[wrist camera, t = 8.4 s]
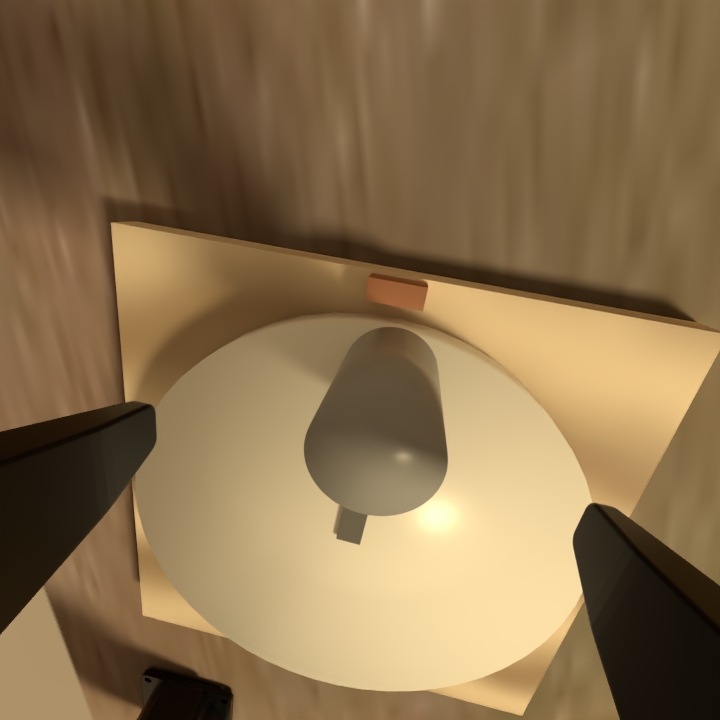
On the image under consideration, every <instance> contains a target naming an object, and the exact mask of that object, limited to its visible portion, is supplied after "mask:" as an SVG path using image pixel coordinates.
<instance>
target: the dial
mask: <svg viewBox="0 0 720 720" xmlns="http://www.w3.org/2000/svg"><path fill="white" fill-rule="evenodd" d="M155 411H156V429H157V440H156V444H155V446H154V448H153V450H152V451H151V453H150V454H149V456H148V457H147V458H146V460H145V461H144V463H143V464H142V465H141V467H140V468H139V470H138V471H137V472H136V477H135V490H136V499H137V508H138V512H139V516H140V520H141V524H142V528H143V531H144V534H145V536H146V538H147V541H148V543H149V546H150V548H151V551H152V553H153V554H154V556H155V558H156V560H157V562H158V564H159V565H160V567H161V569H162V571H163V572H164V574H165V575H166V576H167V578H168V579H169V581H170V582H171V583H172V585H173V586H174V588H175V589H176V590H177V591H178V592H179V594H180V595H181V596H182V597H183V598H184V599H185V600H186V602H187V603H188V604H189V605H190V606H191V607H192V608H193V609H194V610H195V611H196V612H197V613H198V614H199V615H200V616H201V617H203V618H204V619H205V620H206V621H207V622H208V623H209V624H210V625H212V626H213V627H214V628H216V629H217V630H218V631H219V632H221V633H222V634H223V635H225V636H226V637H227V638H229V639H230V640H232V641H233V642H235V643H236V644H238V645H240V646H241V647H243V648H244V649H246V650H247V651H249V652H251V653H253V654H255V655H257V656H259V657H261V658H262V659H264V660H266V661H268V662H270V663H273V664H275V665H277V666H280V667H282V668H284V669H287V670H289V671H291V672H294V673H297V674H300V675H303V676H306V677H309V678H312V679H315V680H319V681H323V682H327V683H331V684H335V685H340V686H346V687H352V688H358V689H366V690H378V691H418V690H429V689H437V688H443V687H448V686H453V685H459V684H462V683H466V682H469V681H472V680H476V679H479V678H483V677H485V676H487V675H490V674H492V673H495V672H497V671H499V670H502V669H504V668H506V667H508V666H510V665H511V664H513V663H515V662H517V661H518V660H520V659H522V658H524V657H525V656H527V655H528V654H530V653H531V652H532V651H534V650H535V649H536V648H538V647H539V646H540V645H541V644H543V643H544V642H545V641H546V640H547V639H548V638H549V637H550V636H551V635H552V634H553V633H554V632H555V631H556V630H557V629H558V628H559V627H560V626H561V625H562V624H563V623H564V621H565V620H566V618H567V617H568V616H569V614H570V613H571V611H572V610H573V609H574V607H575V606H576V604H577V602H578V600H579V598H580V596H581V594H582V592H583V591H582V587H581V582H580V577H579V573H578V568H577V563H576V559H575V554H574V550H573V534H574V531H575V529H576V527H577V525H578V523H579V521H580V519H581V517H582V515H583V513H584V511H585V509H586V507H587V506H588V505H589V504H590V503H592V499H591V496H590V492H589V488H588V484H587V481H586V478H585V476H584V474H583V472H582V469H581V467H580V465H579V463H578V461H577V459H576V457H575V454H574V452H573V451H572V449H571V447H570V446H569V444H568V443H567V441H566V440H565V438H564V436H563V435H562V433H561V432H560V430H559V429H558V427H557V426H556V424H555V423H554V421H553V420H552V418H551V417H550V415H549V414H548V412H547V411H546V409H545V408H544V406H543V405H542V404H541V403H540V402H539V401H538V399H537V398H536V397H535V396H534V395H533V394H532V393H531V392H530V391H529V390H528V389H527V387H526V386H525V385H524V384H523V383H522V382H521V381H520V380H519V379H517V378H516V377H515V376H514V375H512V374H511V373H510V372H509V371H508V370H506V369H505V368H504V367H503V366H501V365H500V364H499V363H498V362H497V361H495V360H494V359H492V358H490V357H489V356H487V355H485V354H484V353H482V352H481V351H479V350H477V349H476V348H474V347H472V346H471V345H469V344H467V343H465V342H463V341H461V340H459V339H456V338H454V337H452V336H450V335H448V334H445V333H443V332H441V331H439V330H436V329H433V328H430V327H427V326H423V325H420V324H417V323H413V322H410V321H407V320H403V319H398V318H392V317H386V316H380V315H374V314H366V313H339V312H334V313H323V314H313V315H303V316H298V317H294V318H290V319H286V320H281V321H277V322H273V323H270V324H268V325H265V326H263V327H260V328H258V329H255V330H252V331H250V332H247V333H245V334H243V335H242V336H240V337H238V338H236V339H235V340H233V341H231V342H229V343H228V344H226V345H224V346H222V347H221V348H219V349H218V350H216V351H215V352H213V353H212V354H210V355H209V356H208V357H206V358H205V359H203V360H202V361H200V362H199V363H198V364H197V365H196V366H194V367H193V368H192V369H191V370H189V371H188V372H187V373H186V374H184V375H183V376H182V377H181V378H180V379H179V380H178V381H177V382H176V383H175V384H174V385H173V387H172V388H171V389H170V390H169V391H168V392H167V393H166V394H165V396H164V397H163V398H162V400H161V401H160V403H159V405H158V406H157V408H156V409H155Z"/></svg>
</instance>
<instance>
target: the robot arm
mask: <svg viewBox="0 0 720 720" xmlns="http://www.w3.org/2000/svg"><path fill="white" fill-rule="evenodd" d="M156 440H157V429H156V411H155V408H154V406H152V405H151V404H147V403H143V402H138V401H130V402H125V403H121V404H117V405H113V406H108V407H104V408H100V409H96V410H91V411H87V412H83V413H79V414H74V415H70V416H66V417H61V418H57V419H53V420H49V421H44V422H40V423H36V424H32V425H27V426H23V427H19V428H14V429H10V430H6V431H2V432H0V634H1V633H2V632H3V631H4V630H5V629H6V628H7V626H8V625H9V624H10V623H11V622H12V621H13V620H14V618H15V617H16V616H17V615H18V614H19V613H20V612H21V610H22V609H23V608H24V607H25V606H26V605H27V604H28V602H29V601H30V600H31V599H32V598H33V597H34V596H35V594H36V593H37V592H38V591H39V590H40V589H41V588H42V586H43V585H44V584H45V583H46V582H47V581H48V580H49V578H50V577H51V576H52V575H53V574H54V573H55V572H56V570H57V569H58V568H59V567H60V566H61V565H62V564H63V562H64V561H65V560H66V559H67V558H68V557H69V555H70V554H71V553H72V552H73V551H74V550H75V549H76V547H77V546H78V545H79V544H80V543H81V542H82V541H83V539H84V538H85V537H86V536H87V535H88V534H89V533H90V531H91V530H92V529H93V528H94V527H95V526H96V525H97V523H98V522H99V521H100V520H101V519H102V518H103V516H104V515H105V514H106V513H107V512H108V510H109V509H110V508H111V507H112V505H113V504H114V503H115V501H116V500H117V499H118V497H119V496H120V495H121V493H122V492H123V490H124V489H125V488H126V486H127V485H128V483H129V482H130V481H131V479H132V478H133V476H134V475H135V474H136V472H137V471H138V470H139V468H140V467H141V465H142V464H143V463H144V461H145V460H146V458H147V457H148V456H149V454H150V453H151V451H152V450H153V448H154V446H155V444H156ZM573 550H574V554H575V559H576V563H577V568H578V573H579V577H580V582H581V587H582V591H583V596H584V600H585V605H586V610H587V614H588V618H589V622H590V626H591V630H592V633H593V637H594V640H595V643H596V646H597V649H598V653H599V656H600V659H601V662H602V665H603V668H604V671H605V674H606V678H607V681H608V684H609V687H610V690H611V693H612V696H613V699H614V702H615V706H616V709H617V712H618V715H619V718H620V720H720V586H719V585H718V584H717V583H715V582H714V581H713V580H711V579H710V578H709V577H707V576H706V575H705V574H703V573H702V572H701V571H699V570H698V569H697V568H695V567H694V566H693V565H691V564H690V563H689V562H687V561H686V560H685V559H683V558H682V557H681V556H679V555H678V554H677V553H675V552H674V551H673V550H671V549H670V548H669V547H667V546H666V545H665V544H663V543H662V542H661V541H659V540H658V539H657V538H655V537H654V536H653V535H651V534H650V533H649V532H647V531H646V530H645V529H643V528H642V527H641V526H639V525H638V524H637V523H635V522H634V521H633V520H631V519H630V518H629V517H627V516H626V515H625V514H623V513H622V512H621V511H619V510H618V509H617V508H615V507H612V506H608V505H604V504H599V503H590V504H589V505H588V506H587V507H586V509H585V511H584V513H583V515H582V517H581V519H580V521H579V523H578V525H577V527H576V529H575V531H574V534H573ZM141 682H142V693H143V704H144V708H143V709H142V711H141V713H140V715H139V717H138V718H137V720H232V714H233V694H232V693H231V692H230V691H227V690H224V689H220V688H217V687H213V686H210V685H206V684H202V683H199V682H195V681H191V680H188V679H184V678H181V677H177V676H173V675H170V674H166V673H162V672H159V671H155V670H152V669H147V670H145V672H144V673H143V675H142V677H141Z"/></svg>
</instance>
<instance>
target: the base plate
mask: <svg viewBox="0 0 720 720" xmlns="http://www.w3.org/2000/svg"><path fill="white" fill-rule="evenodd" d="M111 231H112V243H113V255H114V268H115V280H116V292H117V304H118V317H119V329H120V341H121V353H122V366H123V378H124V390H125V402H130V401H138V402H143V403H147V404H151V405H152V406H154V408H155V409H156V408H157V406H158V405H159V403H160V401H161V400H162V398H163V397H164V396H165V394H166V393H167V392H168V391H169V390H170V389H171V388H172V387H173V385H174V384H175V383H176V382H177V381H178V380H179V379H180V378H181V377H182V376H183V375H184V374H186V373H187V372H188V371H189V370H191V369H192V368H193V367H194V366H196V365H197V364H198V363H199V362H200V361H202V360H203V359H205V358H206V357H208V356H209V355H210V354H212V353H213V352H215V351H216V350H218V349H219V348H221V347H222V346H224V345H226V344H228V343H229V342H231V341H233V340H235V339H236V338H238V337H240V336H242V335H243V334H245V333H247V332H250V331H252V330H255V329H258V328H260V327H263V326H265V325H268V324H270V323H273V322H277V321H281V320H286V319H290V318H294V317H298V316H303V315H313V314H323V313H334V312H339V313H366V314H374V315H380V316H386V317H392V318H398V319H403V320H407V321H410V322H413V323H417V324H420V325H423V326H427V327H430V328H433V329H436V330H439V331H441V332H443V333H445V334H448V335H450V336H452V337H454V338H456V339H459V340H461V341H463V342H465V343H467V344H469V345H471V346H472V347H474V348H476V349H477V350H479V351H481V352H482V353H484V354H485V355H487V356H489V357H490V358H492V359H494V360H495V361H497V362H498V363H499V364H500V365H501V366H503V367H504V368H505V369H506V370H508V371H509V372H510V373H511V374H512V375H514V376H515V377H516V378H517V379H519V380H520V381H521V382H522V383H523V384H524V385H525V386H526V387H527V389H528V390H529V391H530V392H531V393H532V394H533V395H534V396H535V397H536V398H537V399H538V401H539V402H540V403H541V404H542V405H543V406H544V408H545V409H546V411H547V412H548V414H549V415H550V417H551V418H552V420H553V421H554V423H555V424H556V426H557V427H558V429H559V430H560V432H561V433H562V435H563V436H564V438H565V440H566V441H567V443H568V444H569V446H570V447H571V449H572V451H573V452H574V454H575V457H576V459H577V461H578V463H579V465H580V467H581V469H582V472H583V474H584V476H585V478H586V481H587V484H588V488H589V492H590V496H591V499H592V503H599V504H604V505H608V506H612V507H615V508H617V509H618V510H619V511H621V512H622V513H623V514H625V515H626V516H627V517H630V515H631V513H632V511H633V509H634V507H635V506H636V504H637V502H638V500H639V498H640V496H641V494H642V493H643V491H644V489H645V487H646V485H647V483H648V482H649V480H650V478H651V476H652V474H653V472H654V470H655V469H656V467H657V465H658V463H659V461H660V459H661V458H662V456H663V454H664V452H665V450H666V448H667V446H668V445H669V443H670V441H671V439H672V437H673V435H674V433H675V432H676V430H677V428H678V426H679V424H680V422H681V421H682V419H683V417H684V415H685V413H686V411H687V409H688V408H689V406H690V404H691V402H692V400H693V398H694V397H695V395H696V393H697V391H698V389H699V387H700V385H701V384H702V382H703V380H704V378H705V376H706V374H707V373H708V371H709V369H710V367H711V365H712V363H713V361H714V360H715V358H716V356H717V354H718V352H719V350H720V331H718V330H715V329H713V328H710V327H708V326H705V325H703V324H700V323H697V322H692V321H686V320H681V319H675V318H670V317H664V316H659V315H653V314H648V313H642V312H637V311H631V310H626V309H620V308H614V307H609V306H603V305H598V304H592V303H587V302H581V301H576V300H570V299H565V298H559V297H554V296H548V295H543V294H537V293H531V292H526V291H520V290H515V289H509V288H504V287H498V286H493V285H487V284H482V283H476V282H471V281H465V280H460V279H454V278H448V277H443V276H437V275H432V274H426V273H421V272H415V271H410V270H404V269H399V268H393V267H388V266H382V265H377V264H371V263H365V262H360V261H354V260H349V259H343V258H338V257H332V256H327V255H321V254H316V253H310V252H305V251H299V250H294V249H288V248H282V247H277V246H271V245H266V244H260V243H255V242H249V241H244V240H238V239H233V238H227V237H222V236H216V235H211V234H205V233H200V232H194V231H188V230H183V229H177V228H172V227H166V226H161V225H155V224H150V223H144V222H139V221H133V222H111ZM135 477H136V474H135V475H134V476H133V478H132V488H133V500H134V513H135V525H136V537H137V549H138V562H139V574H140V586H141V598H142V611H143V615H144V616H147V617H151V618H155V619H159V620H162V621H166V622H170V623H174V624H178V625H181V626H185V627H189V628H193V629H196V630H200V631H204V632H208V633H212V634H215V635H219V636H223V637H226V636H225V635H223V634H222V633H221V632H219V631H218V630H217V629H216V628H214V627H213V626H212V625H210V624H209V623H208V622H207V621H206V620H205V619H204V618H203V617H201V616H200V615H199V614H198V613H197V612H196V611H195V610H194V609H193V608H192V607H191V606H190V605H189V604H188V603H187V602H186V600H185V599H184V598H183V597H182V596H181V595H180V594H179V592H178V591H177V590H176V589H175V588H174V586H173V585H172V583H171V582H170V581H169V579H168V578H167V576H166V575H165V574H164V572H163V571H162V569H161V567H160V565H159V564H158V562H157V560H156V558H155V556H154V554H153V553H152V551H151V548H150V546H149V543H148V541H147V538H146V536H145V534H144V531H143V528H142V524H141V520H140V516H139V512H138V508H137V499H136V490H135ZM583 602H584V596H583V592H582V594H581V596H580V598H579V600H578V602H577V604H576V606H575V607H574V609H573V610H572V611H571V613H570V614H569V616H568V617H567V618H566V620H565V621H564V623H563V624H562V625H561V626H560V627H559V628H558V629H557V630H556V631H555V632H554V633H553V634H552V635H551V636H550V637H549V638H548V639H547V640H546V641H545V642H544V643H543V644H541V645H540V646H539V647H538V648H536V649H535V650H534V651H532V652H531V653H530V654H528V655H527V656H525V657H524V658H522V659H520V660H518V661H517V662H515V663H513V664H511V665H510V666H508V667H506V668H504V669H502V670H499V671H497V672H495V673H492V674H490V675H487V676H485V677H483V678H479V679H476V680H472V681H469V682H466V683H462V684H459V685H453V686H448V687H443V688H437V689H429V690H427V691H431V692H434V693H438V694H442V695H446V696H449V697H453V698H457V699H461V700H465V701H468V702H472V703H476V704H480V705H483V706H487V707H491V708H495V709H499V710H502V711H506V712H510V713H514V714H517V715H521V716H522V714H523V713H524V711H525V709H526V707H527V705H528V703H529V701H530V700H531V698H532V696H533V694H534V692H535V690H536V689H537V687H538V685H539V683H540V681H541V679H542V677H543V676H544V674H545V672H546V670H547V668H548V666H549V665H550V663H551V661H552V659H553V657H554V655H555V653H556V652H557V650H558V648H559V646H560V644H561V642H562V640H563V639H564V637H565V635H566V633H567V631H568V629H569V628H570V626H571V624H572V622H573V620H574V618H575V616H576V615H577V613H578V611H579V609H580V607H581V605H582V604H583Z"/></svg>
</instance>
